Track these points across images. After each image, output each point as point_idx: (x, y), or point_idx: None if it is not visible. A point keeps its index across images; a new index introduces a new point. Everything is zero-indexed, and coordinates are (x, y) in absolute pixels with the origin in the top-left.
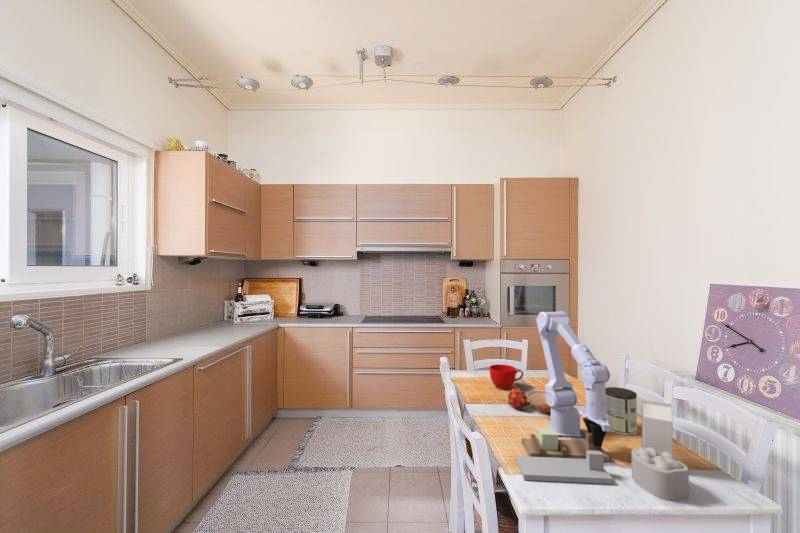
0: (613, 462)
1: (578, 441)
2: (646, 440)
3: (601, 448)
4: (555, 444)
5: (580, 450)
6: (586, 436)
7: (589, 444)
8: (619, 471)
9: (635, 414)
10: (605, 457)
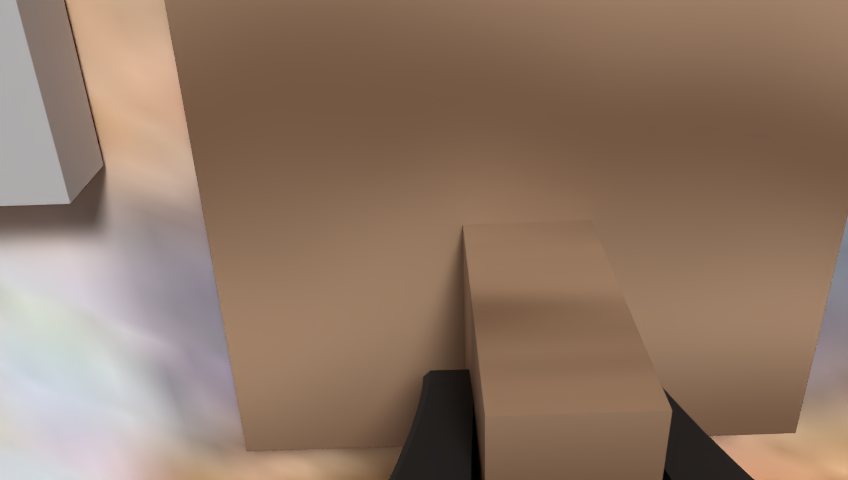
0: None
1: (814, 155)
2: None
3: None
4: None
5: (396, 42)
6: (596, 356)
7: (472, 296)
8: (9, 410)
9: None
10: (240, 387)
